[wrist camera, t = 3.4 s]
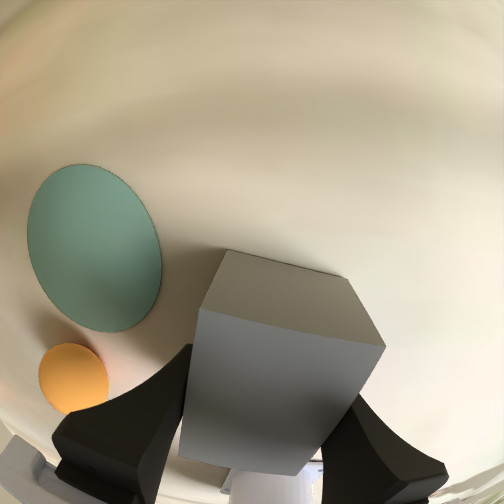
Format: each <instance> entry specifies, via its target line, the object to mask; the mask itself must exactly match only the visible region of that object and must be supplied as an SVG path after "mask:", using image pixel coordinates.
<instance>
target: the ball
mask: <svg viewBox="0 0 504 504" xmlns="http://www.w3.org/2000/svg"><path fill="white" fill-rule="evenodd" d="M38 377H39V383H40V387H41V390H42V392H43V394H44V396H45V398H46V399H47V400H48V402H49V403H50V404H51V405H52V406H53V407H54V408H56V409H57V410H58V411H60V412H62V413H64V414H66V415H68V414H69V413H70V412H73V411H77V410H81V409H85V408H89V407H93V406H96V405H98V404H101V403H104V402H105V400H106V398H107V395H108V390H109V381H108V375H107V372H106V370H105V367H104V365H103V364H102V362H101V361H100V359H99V358H98V357H97V356H96V355H95V354H94V353H93V352H92V351H90V350H89V349H87V348H86V347H84V346H81V345H78V344H75V343H62V344H59V345H56V346H54V347H52V348H51V349H50V350H48V351H47V352H46V354H45V355H44V357H43V358H42V360H41V363H40V366H39V376H38Z"/></svg>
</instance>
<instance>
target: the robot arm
mask: <svg viewBox="0 0 504 504" xmlns="http://www.w3.org/2000/svg"><path fill="white" fill-rule="evenodd" d="M192 349H193V345H192V344H189V343H188V344H186V345H185V346H184V347H183V348H182V350H181V351H180V352H179V353H178V354H177V355H176V356H175V357H174V358H173V359H172V360H171V361H170V362H169V363H167V364H166V365H165V366H164V367H163V368H162V369H161V370H159V371H158V372H157V373H156V374H154V375H153V376H152V377H150V378H149V379H148V380H146V381H145V382H143V383H142V384H140V385H139V386H137V387H135V388H134V389H132V390H130V391H128V392H126V393H124V394H122V395H120V396H118V397H116V398H114V399H112V400H109V401H106V402H104V403H101V404H98V405H96V406H93V407H89V408H85V409H81V410H77V411H73V412H70V413H69V414H68V415H67V416H66V417H65V418H64V419H63V420H62V422H61V423H60V424H59V426H58V427H57V429H56V430H55V432H54V433H53V435H52V441H53V444H54V446H55V448H56V449H57V451H58V453H59V455H60V456H61V458H62V460H61V461H60V463H59V465H58V466H57V467H56V466H54V465H52V464H51V463H49V462H47V461H46V458H45V457H44V455H43V454H42V453H41V452H40V451H39V450H37V449H36V448H35V447H33V446H32V445H30V444H29V443H28V442H26V441H25V440H23V439H22V438H21V437H19V436H18V435H14V437H13V438H12V440H11V441H10V442H9V443H8V445H7V446H6V448H5V449H4V451H3V452H2V453H1V455H0V485H1V486H2V487H3V488H4V489H5V490H7V491H8V492H9V493H10V494H11V495H12V496H14V497H15V498H16V499H17V500H19V501H20V502H21V503H23V504H155V500H156V496H157V492H158V488H159V485H160V481H161V477H162V474H163V470H164V467H165V463H166V460H167V456H168V453H169V450H170V446H171V443H172V440H173V437H174V435H175V432H176V430H177V428H178V426H179V423H180V421H181V419H182V416H183V411H184V403H185V396H186V389H187V382H188V375H189V368H190V362H191V355H192ZM321 452H322V460H323V462H308V463H307V464H306V465H305V466H304V467H303V468H302V470H301V471H300V472H299V473H298V474H297V475H296V476H286V475H275V474H265V473H257V472H250V471H244V470H237V469H232V468H231V470H230V472H229V474H228V476H227V478H226V480H225V482H224V484H223V486H222V488H221V491H220V492H221V493H223V494H228V495H230V497H229V504H314V502H313V487H312V484H313V483H314V482H315V481H316V480H317V479H318V478H319V477H320V476H321V475H322V474H323V490H322V503H321V504H428V503H429V500H428V496H430V495H431V494H433V493H434V492H435V491H437V490H438V489H439V488H441V487H442V486H443V485H444V484H445V483H446V482H447V480H448V478H449V475H448V473H447V470H446V468H445V465H444V463H442V462H440V461H438V460H436V459H434V458H432V457H429V456H427V455H426V454H424V453H422V452H420V451H419V450H417V449H416V448H414V447H412V446H411V445H410V444H408V443H407V442H406V441H404V440H403V439H402V438H400V437H399V436H398V435H397V434H395V433H394V432H393V431H392V430H391V429H390V428H389V427H388V426H387V425H386V424H385V423H384V422H383V421H382V420H381V419H380V418H379V417H378V416H377V415H376V414H375V412H374V411H373V410H372V409H371V408H370V407H369V405H368V404H367V403H366V402H365V400H364V399H363V398H362V396H361V395H360V394H358V395H357V397H356V398H355V400H354V401H353V403H352V404H351V406H350V407H349V409H348V410H347V412H346V413H345V415H344V416H343V417H342V419H341V420H340V422H339V423H338V424H337V426H336V427H335V429H334V430H333V431H332V433H331V434H330V435H329V437H328V438H327V439H326V440H325V442H324V443H323V444H322V446H321ZM443 504H461V502H460V499H459V498H456V499H453V500H450V501H448V502H445V503H443Z"/></svg>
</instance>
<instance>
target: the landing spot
mask: <svg viewBox="0 0 504 504" xmlns="http://www.w3.org/2000/svg"><path fill="white" fill-rule="evenodd" d="M27 242H28V250H29V255H30V259H31V263H32V266H33V269H34V272H35V274H36V277H37V279H38V281H39V283H40V285H41V287H42V288H43V290H44V292H45V293H46V295H47V296H48V297H49V299H50V300H51V301H52V302H53V304H54V305H55V306H56V307H57V308H58V309H59V310H60V311H61V312H62V313H63V314H65V315H66V316H67V317H68V318H70V319H71V320H73V321H74V322H76V323H77V324H79V325H81V326H83V327H86V328H89V329H91V330H95V331H100V332H118V331H122V330H126V329H128V328H130V327H132V326H134V325H135V324H137V323H138V322H139V321H141V320H142V319H143V318H144V317H145V316H146V314H147V313H148V311H149V310H150V309H151V307H152V305H153V303H154V301H155V300H156V297H157V294H158V291H159V287H160V282H161V271H162V263H161V252H160V246H159V241H158V237H157V234H156V231H155V228H154V225H153V223H152V220H151V218H150V216H149V214H148V212H147V210H146V208H145V207H144V205H143V203H142V202H141V201H140V199H139V198H138V196H137V195H136V194H135V192H134V191H133V190H132V189H131V188H130V187H129V186H128V185H127V184H126V183H125V182H124V181H122V180H121V179H120V178H119V177H117V176H116V175H114V174H113V173H111V172H109V171H107V170H105V169H103V168H100V167H96V166H92V165H74V166H69V167H66V168H63V169H61V170H59V171H57V172H55V173H54V174H53V175H51V176H50V177H49V178H48V179H47V180H46V181H45V182H44V183H43V184H42V186H41V187H40V189H39V190H38V192H37V194H36V196H35V198H34V200H33V203H32V205H31V208H30V212H29V217H28V225H27Z"/></svg>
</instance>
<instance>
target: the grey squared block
mask: <svg viewBox="0 0 504 504" xmlns="http://www.w3.org/2000/svg"><path fill="white" fill-rule="evenodd" d="M385 348H386V345H385V343H384V341H383V340H382V338H381V336H380V334H379V332H378V331H377V329H376V327H375V325H374V323H373V322H372V320H371V318H370V316H369V315H368V313H367V311H366V310H365V308H364V306H363V304H362V303H361V301H360V299H359V298H358V296H357V294H356V293H355V291H354V289H353V288H352V286H351V284H350V283H349V281H348V279H345V278H341V277H337V276H333V275H329V274H325V273H321V272H317V271H313V270H309V269H305V268H301V267H296V266H292V265H288V264H284V263H280V262H276V261H272V260H268V259H264V258H260V257H256V256H252V255H248V254H244V253H240V252H236V251H232V250H227V252H226V254H225V256H224V258H223V260H222V262H221V264H220V266H219V268H218V270H217V272H216V274H215V276H214V278H213V281H212V283H211V285H210V287H209V289H208V291H207V293H206V295H205V297H204V299H203V301H202V303H201V306H200V308H199V313H198V319H197V325H196V331H195V337H194V343H193V349H192V355H191V362H190V368H189V375H188V382H187V389H186V396H185V403H184V411H183V419H182V427H181V435H180V443H179V452H178V456H180V457H183V458H187V459H191V460H195V461H199V462H203V463H207V464H212V465H216V466H221V467H226V468H232V469H237V470H244V471H250V472H257V473H265V474H275V475H286V476H296V475H297V474H298V473H299V472H300V471H301V470H302V468H303V467H304V466H305V465H306V464H307V463H308V461H309V460H310V459H311V458H312V457H313V455H314V454H315V453H316V452H317V451H318V449H319V448H320V447H321V446H322V444H323V443H324V442H325V440H326V439H327V438H328V437H329V435H330V434H331V433H332V431H333V430H334V429H335V427H336V426H337V424H338V423H339V422H340V420H341V419H342V417H343V416H344V415H345V413H346V412H347V410H348V409H349V407H350V406H351V404H352V403H353V401H354V400H355V398H356V397H357V395H358V394H359V392H360V391H361V389H362V387H363V386H364V384H365V383H366V381H367V379H368V378H369V376H370V374H371V373H372V371H373V369H374V368H375V366H376V364H377V362H378V361H379V359H380V357H381V355H382V354H383V352H384V350H385Z"/></svg>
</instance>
